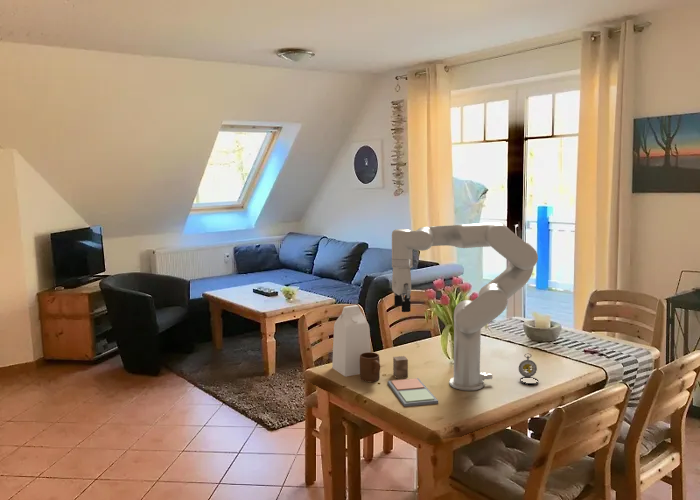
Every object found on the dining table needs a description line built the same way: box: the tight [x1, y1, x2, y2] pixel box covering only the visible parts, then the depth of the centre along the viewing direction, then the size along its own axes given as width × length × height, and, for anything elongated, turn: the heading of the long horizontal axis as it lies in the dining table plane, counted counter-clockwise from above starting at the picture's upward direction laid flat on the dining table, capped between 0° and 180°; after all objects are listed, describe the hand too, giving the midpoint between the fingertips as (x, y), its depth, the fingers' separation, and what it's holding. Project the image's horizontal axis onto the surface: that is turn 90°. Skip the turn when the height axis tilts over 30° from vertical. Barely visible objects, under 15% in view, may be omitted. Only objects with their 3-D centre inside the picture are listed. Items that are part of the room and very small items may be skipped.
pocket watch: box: [518, 352, 539, 385], centre depth 220 cm, size 8×8×10 cm
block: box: [392, 355, 409, 379], centre depth 228 cm, size 4×4×7 cm
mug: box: [359, 351, 381, 383], centre depth 223 cm, size 12×8×9 cm, turn 23°
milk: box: [331, 305, 372, 377], centre depth 235 cm, size 12×12×26 cm
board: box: [387, 377, 439, 407], centre depth 211 cm, size 12×22×1 cm, turn 11°
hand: (402, 308), depth 218 cm, fingers open, 9 cm apart
